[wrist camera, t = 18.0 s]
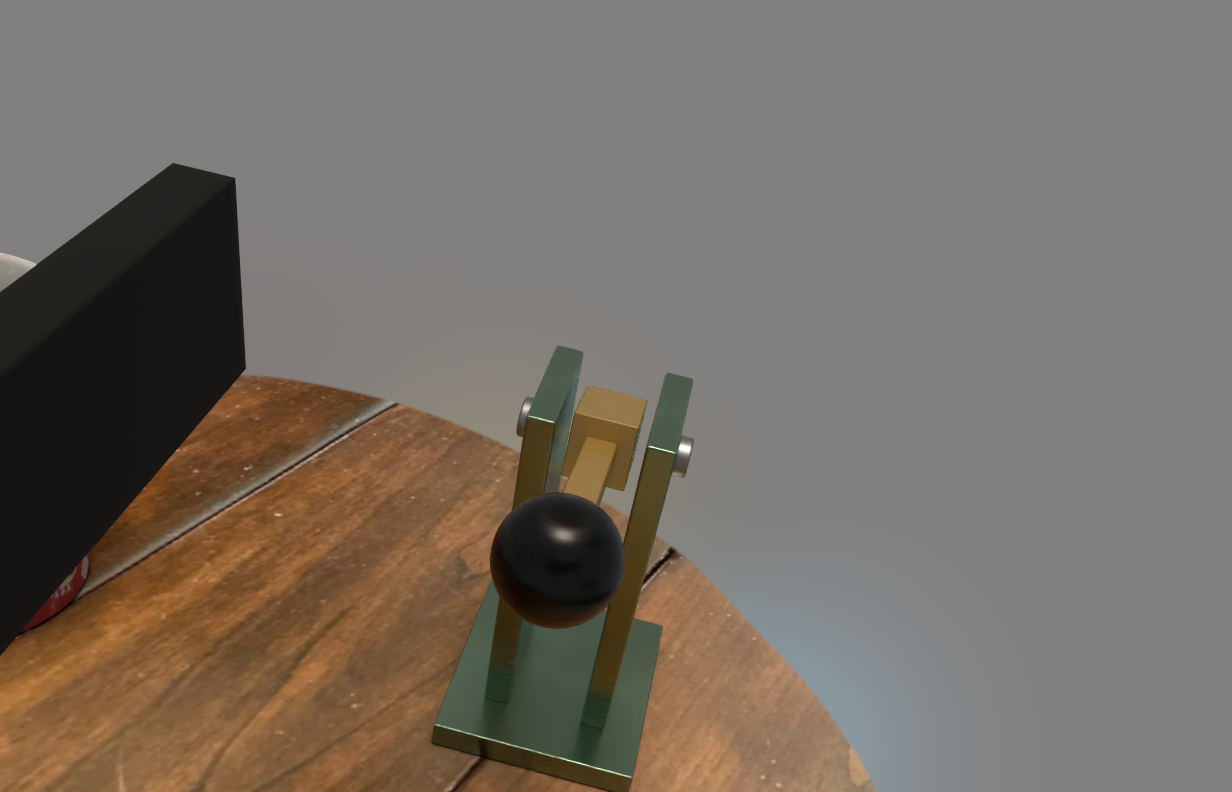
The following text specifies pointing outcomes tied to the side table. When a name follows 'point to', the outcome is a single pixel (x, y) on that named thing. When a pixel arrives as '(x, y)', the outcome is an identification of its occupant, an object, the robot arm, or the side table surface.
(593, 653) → the switch bracket
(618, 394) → the switch lever
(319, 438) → the side table surface
